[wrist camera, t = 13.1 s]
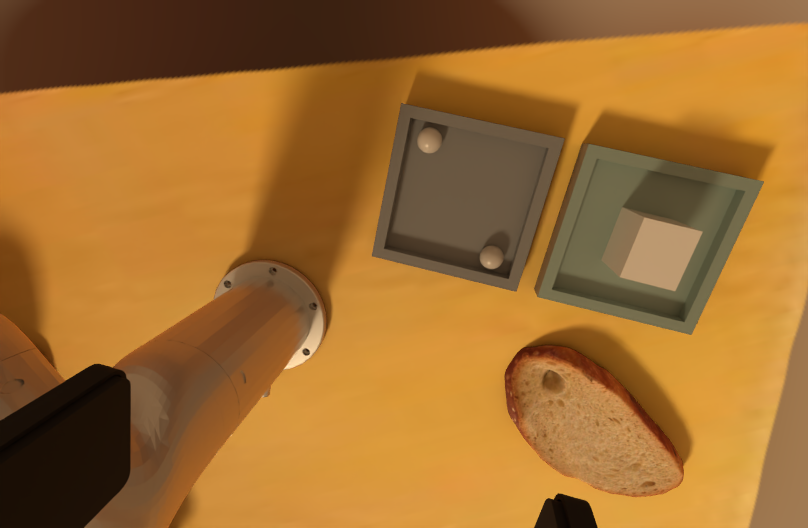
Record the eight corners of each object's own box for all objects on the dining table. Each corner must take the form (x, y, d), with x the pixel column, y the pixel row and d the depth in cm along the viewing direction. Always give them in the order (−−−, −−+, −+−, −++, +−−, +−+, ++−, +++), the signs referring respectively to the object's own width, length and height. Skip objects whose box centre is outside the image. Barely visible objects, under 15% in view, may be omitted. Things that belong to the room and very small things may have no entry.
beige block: (649, 272, 38) (675, 291, 34) (601, 259, 39) (619, 277, 34) (672, 219, 37) (702, 231, 32) (622, 207, 37) (644, 217, 32)
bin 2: (679, 324, 40) (691, 334, 38) (534, 288, 41) (537, 296, 39) (747, 179, 36) (764, 181, 34) (582, 143, 37) (588, 143, 35)
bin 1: (514, 283, 42) (516, 293, 39) (376, 250, 43) (370, 257, 40) (559, 138, 37) (566, 138, 35) (405, 104, 38) (400, 102, 36)
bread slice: (678, 487, 46) (696, 517, 42) (508, 482, 49) (511, 509, 45) (693, 337, 41) (714, 356, 37) (502, 341, 44) (505, 359, 40)
